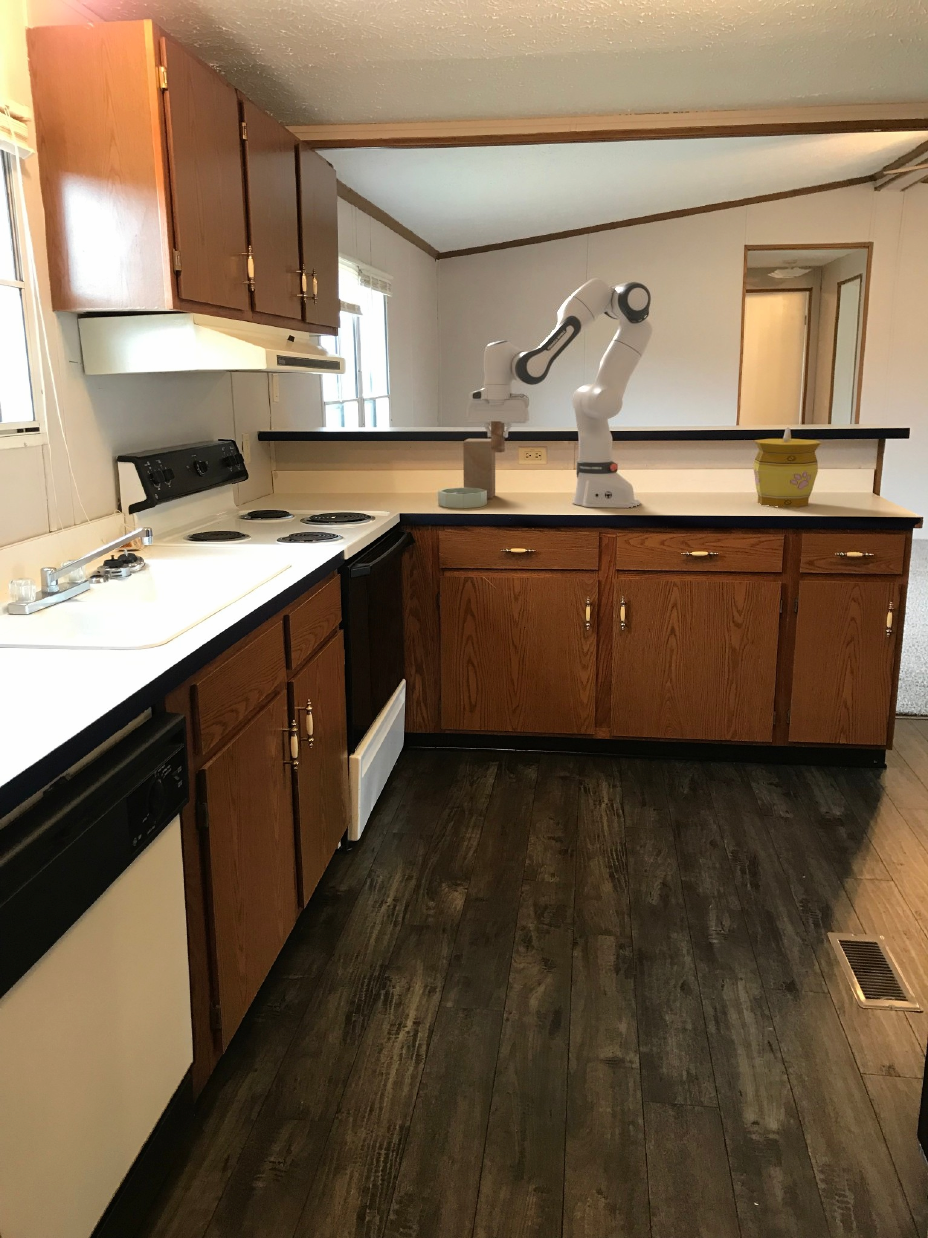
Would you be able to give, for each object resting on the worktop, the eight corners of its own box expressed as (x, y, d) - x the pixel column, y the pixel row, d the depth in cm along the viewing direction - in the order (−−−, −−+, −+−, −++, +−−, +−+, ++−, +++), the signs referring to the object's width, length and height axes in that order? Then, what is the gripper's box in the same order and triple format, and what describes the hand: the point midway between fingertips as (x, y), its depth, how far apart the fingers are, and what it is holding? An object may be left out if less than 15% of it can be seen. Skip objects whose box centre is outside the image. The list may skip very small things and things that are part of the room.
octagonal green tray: (490, 501, 339) (490, 488, 337) (476, 508, 325) (476, 494, 324) (449, 500, 344) (449, 486, 342) (433, 506, 330) (433, 492, 329)
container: (743, 506, 324) (748, 428, 317) (756, 497, 342) (762, 424, 335) (810, 510, 314) (817, 430, 308) (820, 501, 332) (827, 425, 326)
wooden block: (491, 499, 345) (491, 441, 340) (463, 498, 347) (462, 441, 341) (495, 495, 355) (495, 438, 349) (467, 494, 356) (467, 438, 351)
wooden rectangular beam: (504, 451, 322) (504, 413, 319) (501, 452, 319) (501, 414, 316) (494, 451, 323) (494, 413, 320) (491, 452, 320) (490, 414, 317)
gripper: (531, 393, 316) (531, 436, 320) (471, 392, 323) (471, 435, 326) (526, 393, 310) (525, 438, 314) (464, 393, 317) (465, 437, 321)
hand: (497, 437), depth 320 cm, fingers closed on wooden rectangular beam, 3 cm apart
